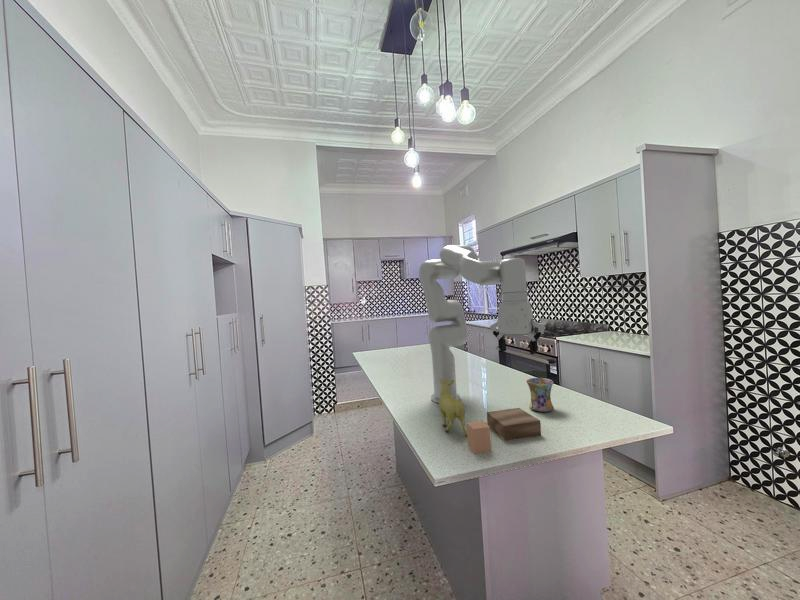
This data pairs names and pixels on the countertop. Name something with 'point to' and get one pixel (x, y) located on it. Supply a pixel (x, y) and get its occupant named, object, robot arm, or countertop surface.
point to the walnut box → (513, 424)
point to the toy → (451, 407)
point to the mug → (540, 394)
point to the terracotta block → (478, 436)
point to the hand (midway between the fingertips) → (517, 352)
